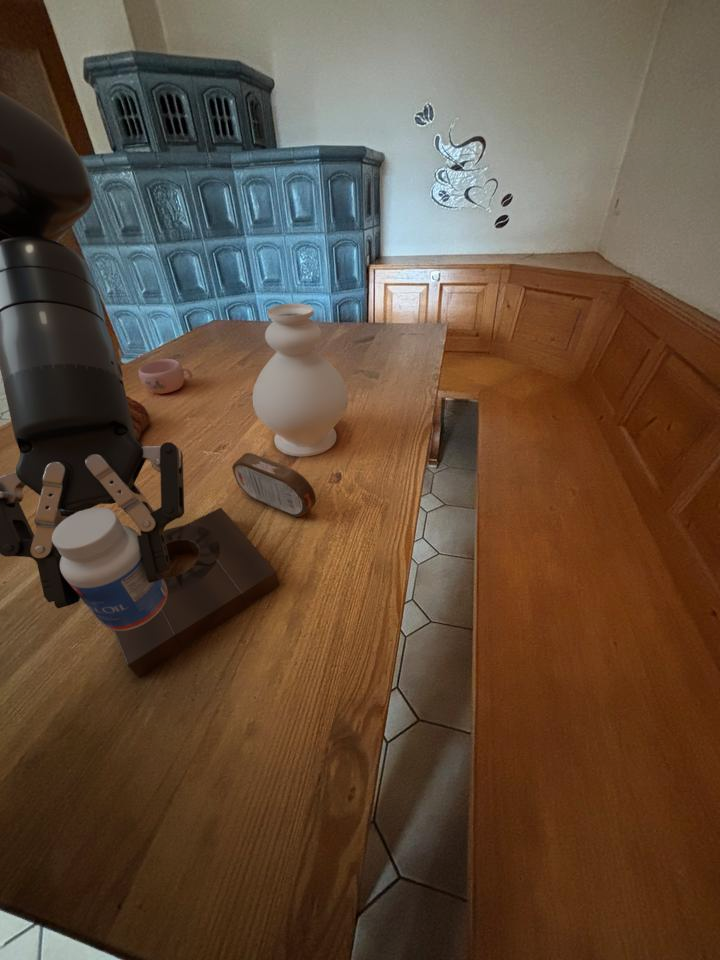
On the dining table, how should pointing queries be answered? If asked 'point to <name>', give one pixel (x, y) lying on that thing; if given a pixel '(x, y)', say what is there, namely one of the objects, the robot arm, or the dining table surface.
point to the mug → (163, 375)
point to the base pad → (200, 589)
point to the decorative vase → (298, 385)
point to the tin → (274, 484)
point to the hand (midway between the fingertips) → (114, 591)
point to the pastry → (138, 416)
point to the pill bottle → (108, 569)
